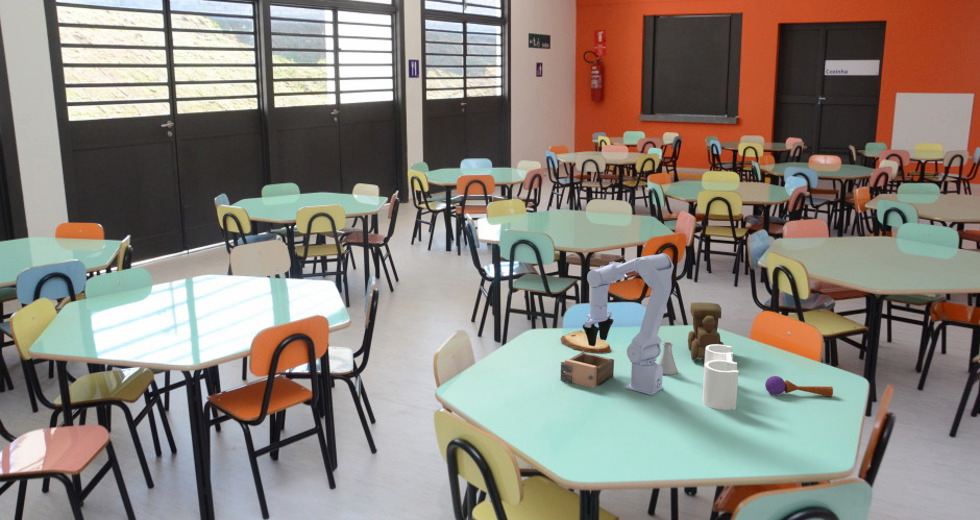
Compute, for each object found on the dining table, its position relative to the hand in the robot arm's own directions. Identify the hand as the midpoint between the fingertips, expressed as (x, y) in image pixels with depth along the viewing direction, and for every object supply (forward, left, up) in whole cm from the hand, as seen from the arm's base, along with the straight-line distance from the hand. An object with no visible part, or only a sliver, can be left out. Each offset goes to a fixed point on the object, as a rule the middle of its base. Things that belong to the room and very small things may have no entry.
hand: (597, 342), depth 276 cm
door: (-2, +15, -10) cm, 17 cm away
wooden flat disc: (+16, -19, -10) cm, 27 cm away
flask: (-20, -12, -10) cm, 25 cm away
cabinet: (-1, +10, -9) cm, 13 cm away
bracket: (-41, -4, -10) cm, 42 cm away
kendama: (-62, -18, -10) cm, 65 cm away
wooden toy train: (-24, -35, -10) cm, 44 cm away
